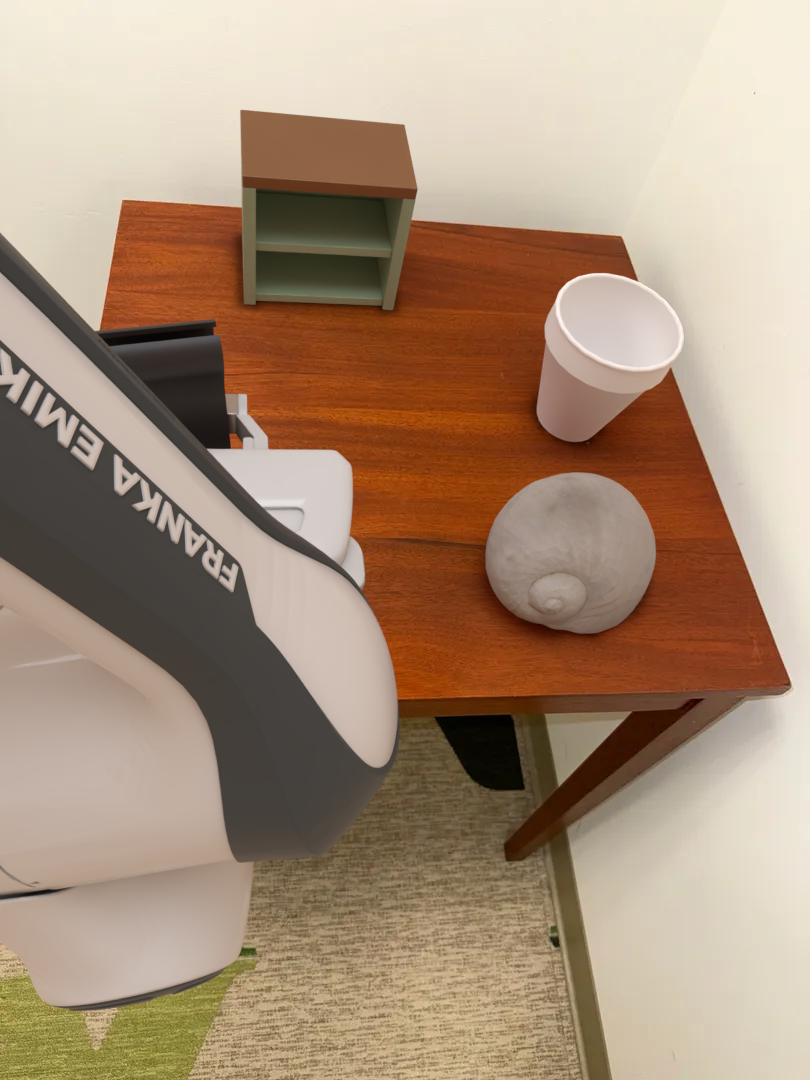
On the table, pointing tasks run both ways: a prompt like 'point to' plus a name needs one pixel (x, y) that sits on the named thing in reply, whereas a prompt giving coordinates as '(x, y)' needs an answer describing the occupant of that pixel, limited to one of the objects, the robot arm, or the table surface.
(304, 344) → the table surface
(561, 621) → the seashell
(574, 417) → the cup
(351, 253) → the shelf
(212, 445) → the phone stand
